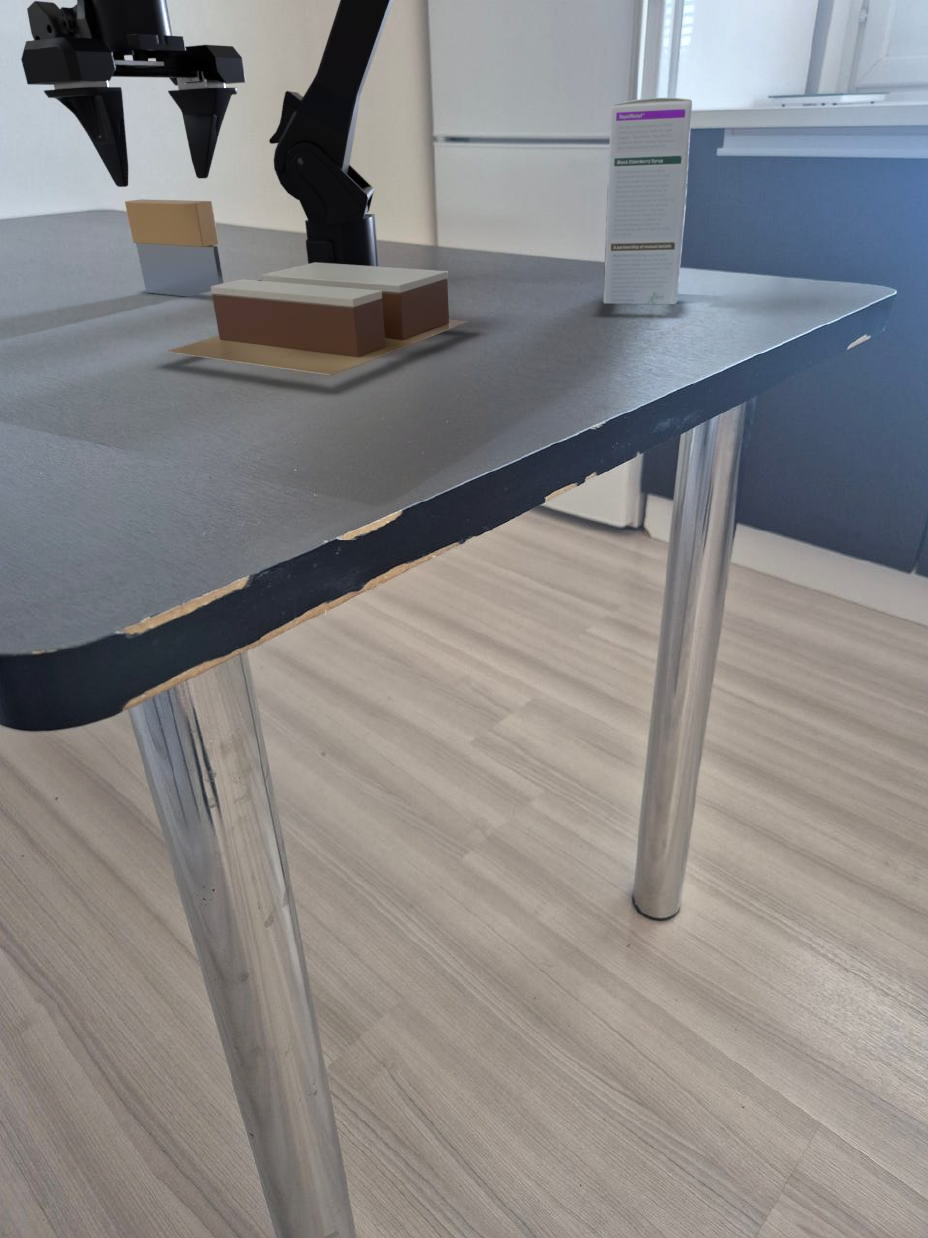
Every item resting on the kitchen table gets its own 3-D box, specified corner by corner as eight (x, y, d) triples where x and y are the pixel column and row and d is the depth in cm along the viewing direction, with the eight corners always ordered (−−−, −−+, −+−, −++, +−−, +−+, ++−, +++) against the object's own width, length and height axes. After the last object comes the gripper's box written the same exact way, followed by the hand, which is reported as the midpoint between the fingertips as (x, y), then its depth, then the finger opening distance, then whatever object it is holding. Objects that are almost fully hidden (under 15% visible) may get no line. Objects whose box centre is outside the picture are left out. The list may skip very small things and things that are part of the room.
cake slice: (249, 330, 61) (241, 278, 59) (385, 346, 55) (381, 290, 53) (219, 339, 58) (210, 285, 57) (358, 357, 53) (353, 298, 51)
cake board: (319, 319, 68) (318, 306, 68) (469, 335, 62) (468, 320, 61) (168, 366, 56) (164, 351, 56) (333, 391, 50) (331, 374, 50)
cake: (320, 309, 66) (314, 262, 65) (449, 322, 61) (447, 270, 59) (268, 325, 62) (261, 274, 60) (403, 340, 57) (399, 285, 55)
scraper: (140, 293, 81) (120, 200, 77) (156, 290, 82) (137, 198, 78) (216, 301, 76) (199, 203, 72) (231, 297, 78) (216, 200, 74)
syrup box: (676, 316, 65) (698, 95, 58) (599, 316, 66) (610, 99, 59) (676, 302, 70) (695, 96, 62) (604, 301, 71) (614, 99, 64)
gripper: (142, -20, 76) (178, 174, 85) (-53, -44, 63) (12, 190, 71) (233, -34, 72) (262, 174, 80) (43, -63, 58) (101, 191, 66)
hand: (164, 182), depth 74 cm, fingers open, 9 cm apart
